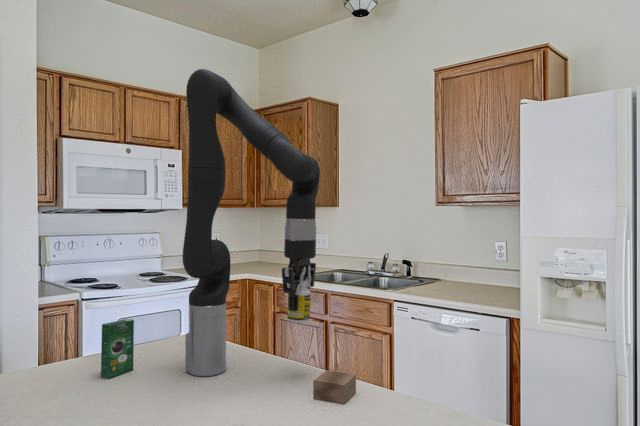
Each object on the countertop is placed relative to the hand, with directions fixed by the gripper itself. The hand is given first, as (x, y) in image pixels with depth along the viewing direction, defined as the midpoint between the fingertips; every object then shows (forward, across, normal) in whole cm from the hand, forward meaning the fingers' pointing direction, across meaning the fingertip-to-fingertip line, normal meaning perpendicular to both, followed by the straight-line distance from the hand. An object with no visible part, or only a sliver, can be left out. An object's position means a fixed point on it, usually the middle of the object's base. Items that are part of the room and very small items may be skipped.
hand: (298, 307), depth 118 cm
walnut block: (+16, +8, +13) cm, 22 cm away
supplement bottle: (+3, 0, 0) cm, 3 cm away
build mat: (+17, +6, +11) cm, 21 cm away
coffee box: (+19, +14, -43) cm, 49 cm away
